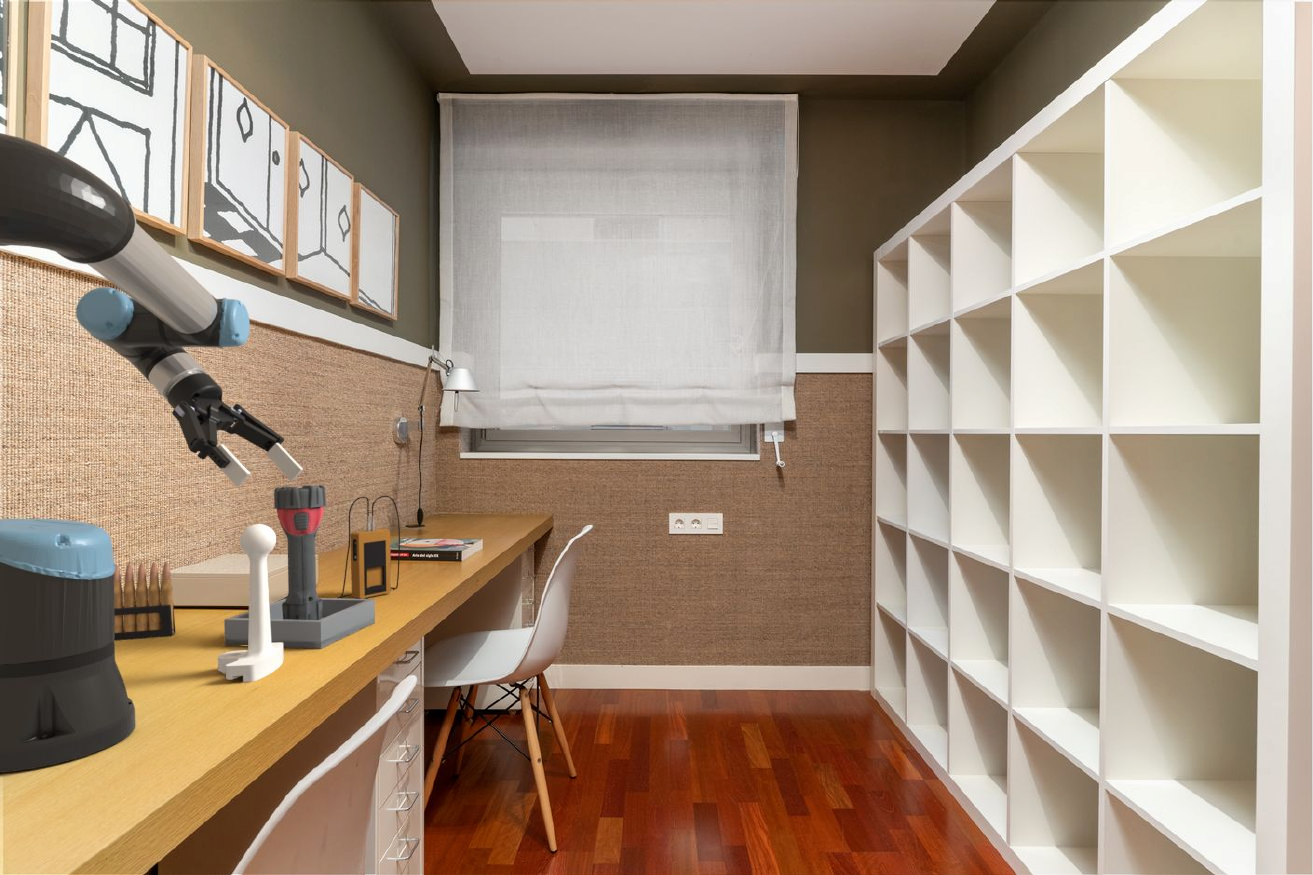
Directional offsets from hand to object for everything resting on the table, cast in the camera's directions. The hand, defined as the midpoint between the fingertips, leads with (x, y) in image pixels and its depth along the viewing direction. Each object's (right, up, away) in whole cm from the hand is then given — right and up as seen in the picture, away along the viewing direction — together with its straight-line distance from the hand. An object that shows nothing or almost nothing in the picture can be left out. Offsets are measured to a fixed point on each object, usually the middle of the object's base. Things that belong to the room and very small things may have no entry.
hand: (272, 477), depth 127 cm
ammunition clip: (-21, -26, -2) cm, 33 cm away
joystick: (+7, -26, -20) cm, 33 cm away
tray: (+5, -25, -1) cm, 26 cm away
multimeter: (+3, -25, +30) cm, 39 cm away
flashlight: (+5, -24, -1) cm, 25 cm away
